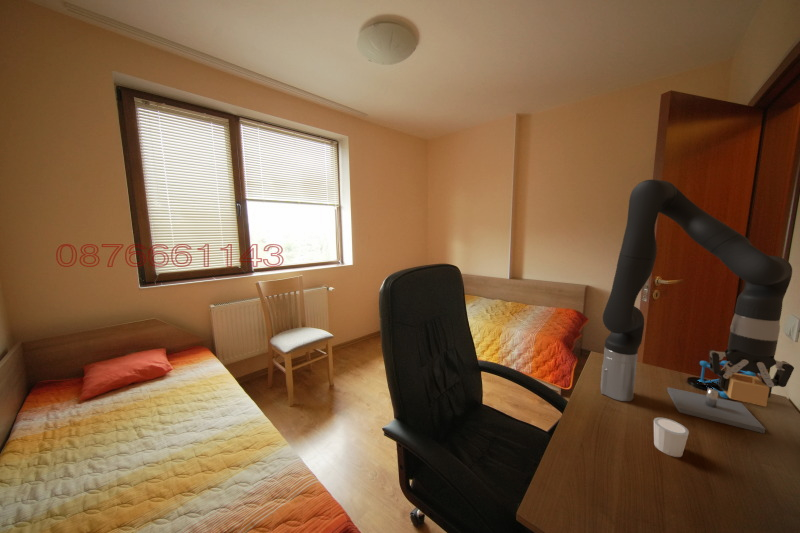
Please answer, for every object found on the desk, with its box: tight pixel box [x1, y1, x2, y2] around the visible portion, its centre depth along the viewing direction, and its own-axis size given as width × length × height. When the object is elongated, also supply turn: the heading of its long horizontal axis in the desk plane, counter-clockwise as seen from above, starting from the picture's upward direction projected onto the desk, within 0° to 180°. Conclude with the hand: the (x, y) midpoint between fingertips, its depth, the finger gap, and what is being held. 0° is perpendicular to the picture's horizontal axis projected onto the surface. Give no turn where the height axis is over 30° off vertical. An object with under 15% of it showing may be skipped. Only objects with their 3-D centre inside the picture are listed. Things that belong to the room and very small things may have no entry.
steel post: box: [705, 387, 720, 408], centre depth 90 cm, size 2×2×6 cm
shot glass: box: [653, 417, 690, 458], centre depth 74 cm, size 7×7×7 cm
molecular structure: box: [697, 360, 757, 399], centre depth 99 cm, size 10×10×10 cm
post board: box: [666, 386, 766, 434], centre depth 90 cm, size 18×14×2 cm
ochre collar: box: [724, 372, 770, 407], centre depth 72 cm, size 6×6×5 cm
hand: (742, 393), depth 72 cm, fingers closed on ochre collar, 6 cm apart
